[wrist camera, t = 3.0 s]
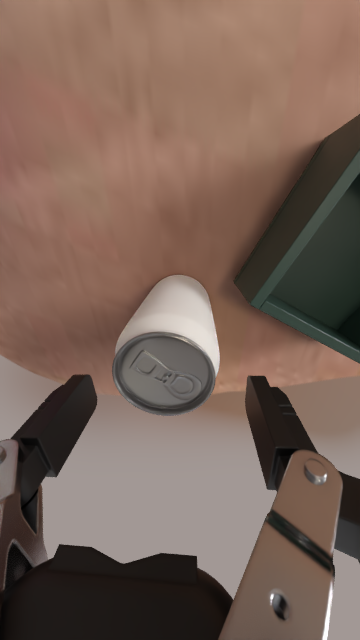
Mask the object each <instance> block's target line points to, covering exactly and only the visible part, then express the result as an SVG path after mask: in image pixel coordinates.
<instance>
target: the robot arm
mask: <svg viewBox="0 0 360 640" xmlns="http://www.w3.org/2000/svg"><path fill="white" fill-rule="evenodd" d="M245 404H246V405H245V406H246V413H247V416H248V420H249V424H250V428H251V431H252V435H253V439H254V442H255V446H256V450H257V454H258V457H259V461H260V465H261V468H262V472H263V476H264V479H265V483H266V486H267V489H268V490H276V491H277V495H276V497H275V500H274V502H273V505H272V508H271V510H270V512H269V513H268V514H267V516H266V518H265V521H264V524H263V526H262V528H261V531H260V533H259V536H258V539H257V541H256V544H255V546H254V549H253V551H252V554H251V556H250V559H249V562H248V564H247V567H246V569H245V572H244V575H243V577H242V580H241V582H240V585H239V587H238V590H237V592H236V595H235V598H234V600H233V599H232V597H231V596H230V595H229V594H228V592H227V591H226V590H225V589H224V587H223V586H222V585H221V584H220V583H218V581H217V580H215V579H214V578H213V577H212V576H210V575H209V574H207V573H206V572H205V571H203V570H201V569H199V568H197V556H189V555H178V554H166V553H160V554H157V555H153V556H150V557H146V558H143V559H140V560H136V561H133V562H129V563H125V564H122V563H119V562H117V561H116V560H114V559H112V558H110V557H108V556H107V555H105V554H103V553H101V552H99V551H97V550H96V549H94V548H92V547H84V546H72V545H61V544H59V546H58V549H57V551H56V553H55V555H54V558H52V559H49V560H48V559H47V553H46V549H45V546H44V541H43V507H42V505H43V504H42V486H41V483H42V481H43V479H44V478H45V477H57V476H58V474H59V472H60V470H61V468H62V466H63V465H64V463H65V461H66V460H67V458H68V456H69V454H70V453H71V451H72V449H73V447H74V446H75V444H76V442H77V440H78V439H79V437H80V435H81V433H82V431H83V430H84V428H85V426H86V425H87V423H88V421H89V419H90V417H91V416H92V414H93V412H94V410H95V408H96V405H97V396H96V392H95V388H94V385H93V381H92V378H91V376H90V375H73V376H72V377H71V378H70V379H69V380H68V381H67V382H66V384H65V385H62V386H60V387H59V388H57V389H56V390H55V391H53V392H52V393H51V394H50V395H49V396H48V398H47V399H46V400H45V402H43V403H42V404H41V405H40V406H39V408H38V410H36V411H35V412H34V413H33V414H32V415H31V416H30V418H29V419H28V420H27V421H26V422H25V423H24V424H23V425H22V427H21V428H20V429H19V430H18V431H17V432H16V433H15V434H14V435H13V437H12V438H11V439H6V440H3V441H0V640H327V633H328V626H329V618H330V610H331V603H332V595H333V588H334V577H335V567H334V565H333V552H334V549H337V550H339V551H341V552H343V553H345V554H347V555H349V556H352V557H354V558H356V559H358V561H359V563H360V479H358V478H355V477H352V476H349V475H346V474H344V473H342V472H340V471H338V470H337V469H336V468H335V467H334V465H333V464H332V463H331V462H330V461H328V459H326V458H325V457H323V456H322V455H320V454H318V452H317V451H316V449H315V447H314V445H313V443H312V442H311V440H310V438H309V436H308V435H307V432H306V431H305V429H304V427H303V425H302V423H301V421H300V419H299V418H298V416H297V415H296V412H295V410H294V408H293V407H292V405H291V403H290V401H289V399H288V397H287V396H286V394H284V393H283V392H282V391H281V390H280V389H279V388H278V387H270V386H269V383H268V381H267V379H266V377H265V376H248V378H247V387H246V398H245Z"/></svg>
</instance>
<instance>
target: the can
mask: <svg viewBox="0 0 360 640" xmlns="http://www.w3.org/2000/svg"><path fill="white" fill-rule="evenodd" d="M219 365H220V354H219V346H218V341H217V335H216V330H215V325H214V320H213V314H212V309H211V304H210V300H209V296H208V294H207V292H206V290H205V288H204V287H203V286H202V285H201V284H200V283H199V282H198V281H197V280H195V279H193V278H191V277H189V276H185V275H172V276H168V277H166V278H164V279H162V280H161V281H159V282H158V283H157V284H156V285H155V286H154V287H153V289H152V290H151V291H150V293H149V294H148V296H147V297H146V298H145V300H144V301H143V302H142V304H141V305H140V307H139V308H138V309H137V311H136V312H135V314H134V315H133V316H132V318H131V319H130V321H129V322H128V324H127V325H126V327H125V328H124V330H123V331H122V333H121V335H120V337H119V339H118V341H117V344H116V349H115V358H114V361H113V366H112V374H113V379H114V383H115V385H116V387H117V389H118V391H119V392H120V393H121V395H122V396H123V397H124V398H125V399H126V400H127V401H128V402H129V403H131V404H132V405H134V406H135V407H137V408H139V409H141V410H143V411H146V412H148V413H152V414H156V415H163V416H174V415H181V414H184V413H188V412H190V411H193V410H195V409H197V408H198V407H200V406H201V405H202V404H203V403H204V402H205V401H206V400H207V399H208V398H209V397H210V395H211V393H212V391H213V389H214V386H215V379H216V376H217V373H218V370H219Z"/></svg>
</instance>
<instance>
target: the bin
mask: <svg viewBox="0 0 360 640" xmlns="http://www.w3.org/2000/svg"><path fill="white" fill-rule="evenodd" d="M234 283H235V284H236V286H237V287H238V289H239V290H240V291H241V293H242V294H243V296H244V297H245V299H246V300H247V301H248V303H249V304H250V305H251V306H253V307H255V308H257V309H259V310H261V311H262V312H264V313H266V314H268V315H270V316H272V317H274V318H276V319H277V320H279V321H281V322H283V323H285V324H287V325H289V326H290V327H292V328H294V329H296V330H298V331H300V332H302V333H304V334H305V335H307V336H309V337H311V338H313V339H315V340H317V341H319V342H320V343H322V344H324V345H326V346H328V347H330V348H332V349H333V350H335V351H337V352H339V353H341V354H343V355H345V356H347V357H348V358H350V359H352V360H354V361H356V362H358V363H360V114H359V115H358V116H356V117H355V118H354V119H352V120H351V121H349V122H348V123H346V124H345V125H343V126H342V127H341V128H339V129H338V130H336V131H335V132H333V133H332V134H330V135H329V136H327V137H326V138H325V139H324V141H323V142H322V144H321V145H320V147H319V148H318V150H317V152H316V153H315V155H314V156H313V158H312V159H311V161H310V162H309V164H308V166H307V167H306V169H305V170H304V172H303V173H302V175H301V177H300V178H299V180H298V181H297V183H296V184H295V186H294V188H293V189H292V191H291V192H290V194H289V195H288V197H287V198H286V200H285V202H284V203H283V205H282V206H281V208H280V209H279V211H278V213H277V214H276V216H275V217H274V219H273V220H272V222H271V224H270V225H269V227H268V228H267V230H266V231H265V233H264V234H263V236H262V238H261V239H260V241H259V242H258V244H257V245H256V247H255V249H254V250H253V252H252V253H251V255H250V256H249V258H248V260H247V261H246V263H245V264H244V266H243V267H242V269H241V270H240V272H239V274H238V275H237V277H236V278H235V280H234Z"/></svg>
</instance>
